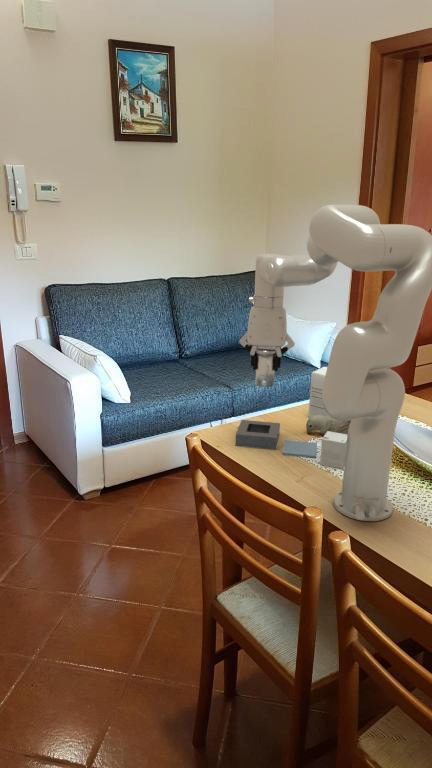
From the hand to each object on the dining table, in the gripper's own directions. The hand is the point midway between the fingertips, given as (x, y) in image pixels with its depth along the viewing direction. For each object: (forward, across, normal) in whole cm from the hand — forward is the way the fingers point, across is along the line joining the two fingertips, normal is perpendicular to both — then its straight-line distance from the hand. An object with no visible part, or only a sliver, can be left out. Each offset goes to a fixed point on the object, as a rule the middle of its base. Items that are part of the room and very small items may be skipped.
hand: (265, 368), depth 151 cm
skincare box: (+22, +20, -10) cm, 31 cm away
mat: (+21, +11, -4) cm, 24 cm away
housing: (+21, -1, +1) cm, 21 cm away
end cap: (+4, 0, 0) cm, 4 cm away
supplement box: (+21, +18, +24) cm, 37 cm away
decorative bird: (+22, +20, +9) cm, 31 cm away
